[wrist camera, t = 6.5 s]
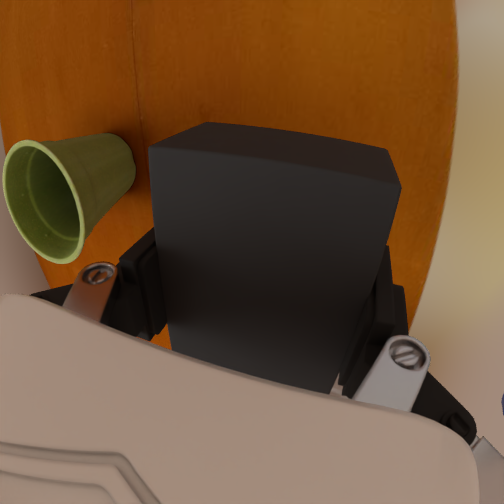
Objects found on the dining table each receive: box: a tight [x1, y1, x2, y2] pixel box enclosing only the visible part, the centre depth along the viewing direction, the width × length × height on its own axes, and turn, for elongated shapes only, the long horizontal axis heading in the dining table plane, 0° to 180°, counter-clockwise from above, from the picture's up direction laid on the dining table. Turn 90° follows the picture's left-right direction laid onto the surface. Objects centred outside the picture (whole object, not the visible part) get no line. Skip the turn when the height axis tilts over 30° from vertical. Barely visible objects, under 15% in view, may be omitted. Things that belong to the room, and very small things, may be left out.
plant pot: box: [3, 133, 136, 264], centre depth 28 cm, size 12×12×11 cm
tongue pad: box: [148, 122, 402, 395], centre depth 11 cm, size 6×12×4 cm, turn 177°
